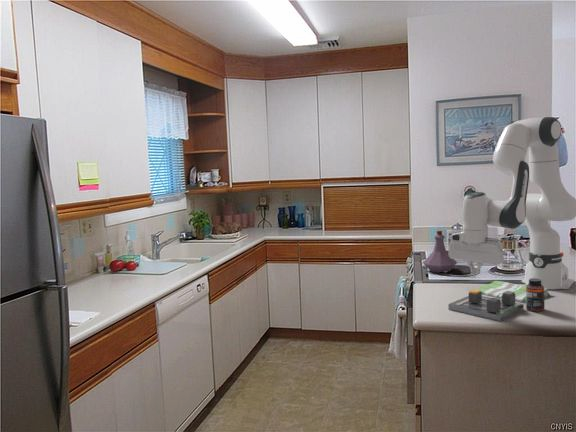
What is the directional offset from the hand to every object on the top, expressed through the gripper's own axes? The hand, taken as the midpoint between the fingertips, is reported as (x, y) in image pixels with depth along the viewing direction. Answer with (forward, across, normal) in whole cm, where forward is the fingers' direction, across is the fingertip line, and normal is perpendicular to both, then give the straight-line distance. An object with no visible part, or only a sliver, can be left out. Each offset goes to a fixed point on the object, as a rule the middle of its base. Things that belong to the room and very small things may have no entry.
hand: (475, 273), depth 180 cm
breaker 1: (+11, -10, +6) cm, 16 cm away
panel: (+13, -4, 0) cm, 14 cm away
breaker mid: (+11, 0, 0) cm, 11 cm away
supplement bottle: (+13, -17, -11) cm, 24 cm away
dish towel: (+14, -2, -25) cm, 29 cm away
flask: (+13, +41, -42) cm, 60 cm away
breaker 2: (+11, -10, -6) cm, 16 cm away
